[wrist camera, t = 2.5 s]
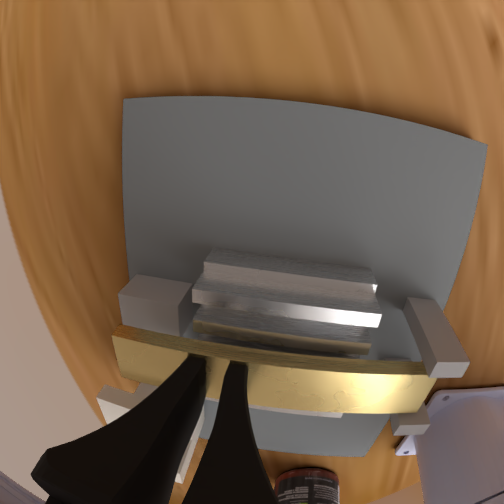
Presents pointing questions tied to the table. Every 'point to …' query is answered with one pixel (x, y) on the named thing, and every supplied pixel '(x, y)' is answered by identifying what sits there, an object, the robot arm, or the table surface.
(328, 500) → the supplement bottle
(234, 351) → the strap
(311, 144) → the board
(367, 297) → the heatsink
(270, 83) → the table surface
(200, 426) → the white l-shaped block
